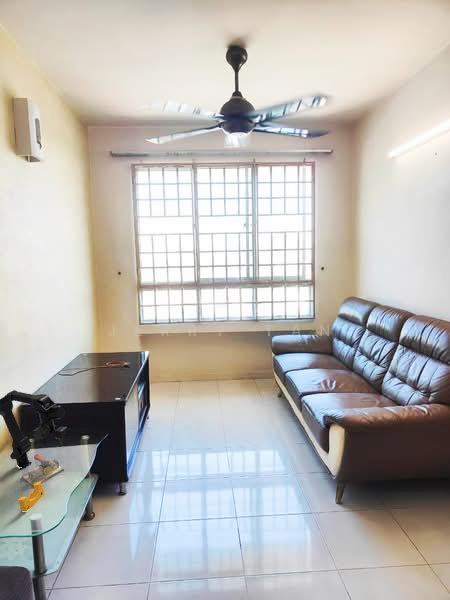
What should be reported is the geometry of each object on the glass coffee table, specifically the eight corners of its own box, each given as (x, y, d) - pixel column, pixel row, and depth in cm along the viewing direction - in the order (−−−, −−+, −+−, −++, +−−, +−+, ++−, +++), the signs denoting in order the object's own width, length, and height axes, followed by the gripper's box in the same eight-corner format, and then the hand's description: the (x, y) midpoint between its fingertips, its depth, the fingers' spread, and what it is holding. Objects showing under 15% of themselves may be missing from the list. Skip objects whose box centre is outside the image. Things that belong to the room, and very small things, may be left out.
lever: (32, 460, 201) (31, 456, 200) (40, 456, 204) (39, 452, 203) (43, 467, 192) (42, 463, 191) (51, 463, 195) (50, 459, 194)
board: (22, 477, 196) (21, 475, 195) (50, 462, 207) (50, 460, 206) (34, 486, 185) (34, 485, 185) (64, 470, 196) (63, 468, 196)
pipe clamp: (36, 494, 179) (33, 482, 178) (44, 494, 178) (41, 482, 177) (18, 513, 167) (14, 499, 166) (26, 512, 166) (23, 499, 165)
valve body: (28, 480, 191) (26, 472, 190) (55, 465, 201) (53, 457, 200) (33, 483, 187) (31, 475, 186) (60, 468, 197) (58, 460, 196)
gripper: (20, 427, 193) (27, 454, 196) (50, 426, 188) (57, 455, 190) (36, 416, 204) (43, 443, 206) (65, 415, 198) (71, 443, 201)
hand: (53, 446), depth 201 cm, fingers open, 9 cm apart
